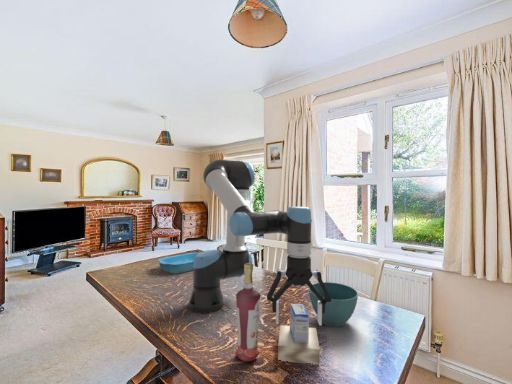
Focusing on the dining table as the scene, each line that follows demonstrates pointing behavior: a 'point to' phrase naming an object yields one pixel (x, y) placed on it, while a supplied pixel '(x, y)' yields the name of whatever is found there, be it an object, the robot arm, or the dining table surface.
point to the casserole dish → (178, 263)
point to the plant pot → (335, 303)
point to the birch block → (298, 347)
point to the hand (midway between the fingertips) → (298, 322)
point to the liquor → (247, 317)
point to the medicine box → (299, 323)
